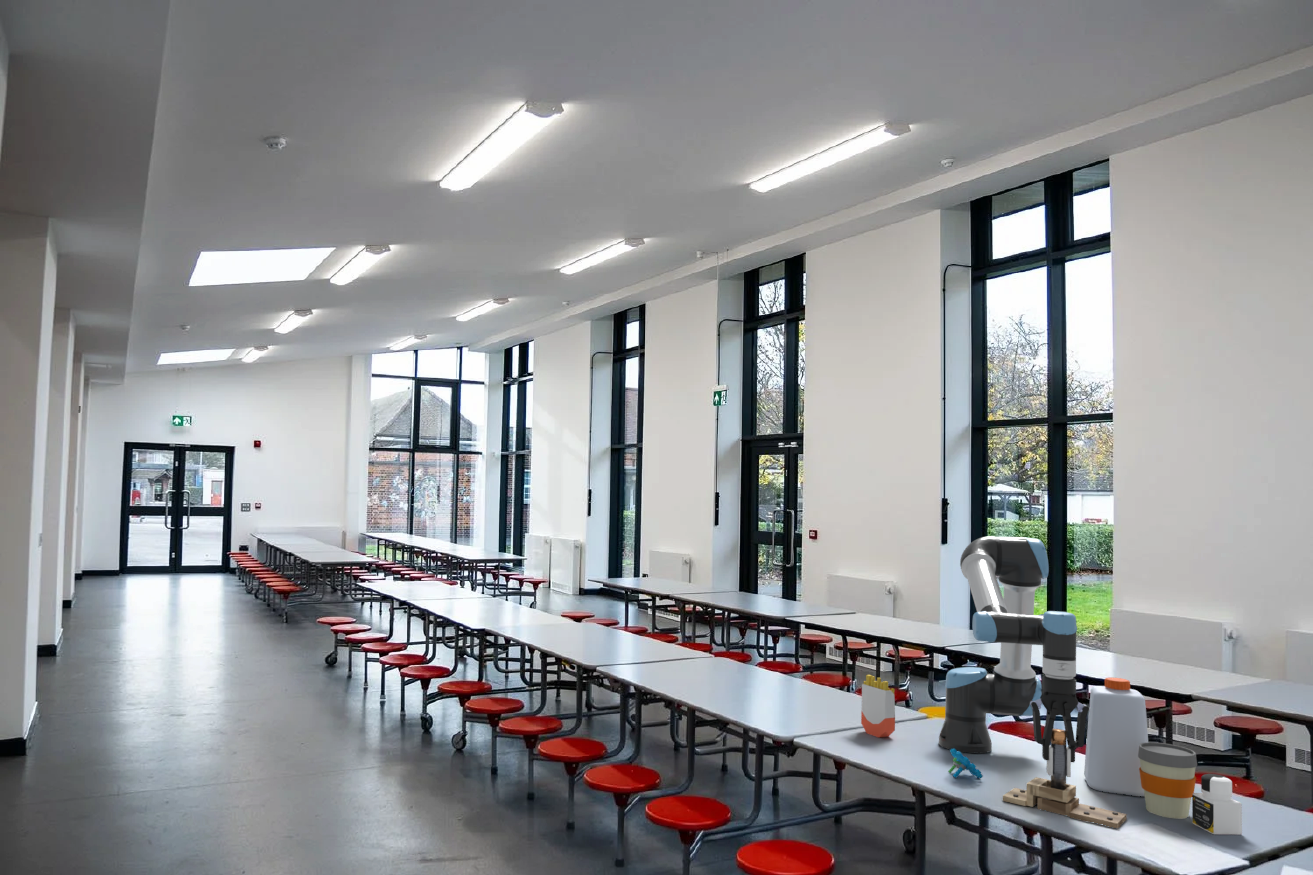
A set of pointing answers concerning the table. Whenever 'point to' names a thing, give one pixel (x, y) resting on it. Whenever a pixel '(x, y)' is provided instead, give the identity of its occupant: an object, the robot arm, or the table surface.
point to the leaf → (1039, 793)
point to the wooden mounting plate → (1083, 812)
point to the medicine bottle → (1216, 807)
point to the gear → (963, 765)
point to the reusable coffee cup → (1167, 778)
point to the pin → (1059, 759)
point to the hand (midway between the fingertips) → (1058, 774)
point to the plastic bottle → (1115, 738)
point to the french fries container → (877, 707)
